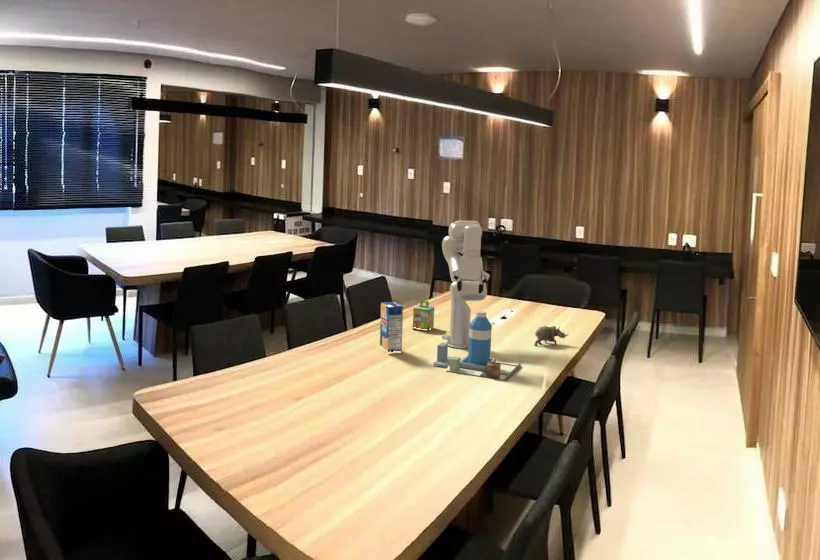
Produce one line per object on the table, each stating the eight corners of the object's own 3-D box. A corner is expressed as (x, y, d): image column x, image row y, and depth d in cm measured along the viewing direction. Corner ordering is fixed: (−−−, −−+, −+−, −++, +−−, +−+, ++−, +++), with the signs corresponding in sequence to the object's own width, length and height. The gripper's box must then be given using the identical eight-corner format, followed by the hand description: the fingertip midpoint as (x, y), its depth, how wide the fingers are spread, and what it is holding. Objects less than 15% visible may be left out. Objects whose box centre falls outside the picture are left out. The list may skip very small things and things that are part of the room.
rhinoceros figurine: (524, 337, 336) (543, 313, 335) (543, 352, 340) (562, 328, 339) (530, 343, 328) (549, 318, 327) (550, 357, 333) (569, 333, 332)
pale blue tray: (433, 365, 293) (433, 347, 291) (443, 358, 304) (444, 340, 303) (486, 373, 283) (487, 354, 282) (495, 365, 295) (496, 347, 293)
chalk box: (412, 329, 355) (413, 302, 353) (417, 326, 364) (418, 299, 362) (428, 331, 353) (429, 303, 350) (434, 327, 361) (435, 300, 359)
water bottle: (478, 373, 284) (481, 315, 280) (463, 367, 291) (465, 311, 287) (494, 369, 290) (497, 312, 286) (478, 364, 297) (481, 308, 293)
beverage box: (387, 354, 308) (388, 307, 305) (379, 348, 318) (380, 302, 315) (401, 353, 311) (403, 306, 307) (393, 347, 321) (394, 301, 317)
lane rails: (445, 374, 281) (446, 369, 281) (463, 360, 302) (464, 355, 302) (506, 384, 271) (506, 378, 271) (520, 369, 292) (521, 363, 291)
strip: (448, 373, 282) (448, 359, 281) (453, 369, 288) (453, 355, 287) (472, 377, 278) (472, 362, 277) (476, 373, 283) (477, 359, 282)
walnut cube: (486, 376, 276) (487, 364, 275) (487, 373, 280) (488, 361, 280) (498, 378, 274) (499, 366, 274) (500, 374, 279) (500, 362, 278)
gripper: (450, 253, 299) (448, 291, 302) (488, 256, 293) (486, 295, 295) (456, 251, 306) (454, 288, 309) (493, 254, 299) (491, 292, 302)
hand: (470, 291), depth 302 cm, fingers open, 9 cm apart
